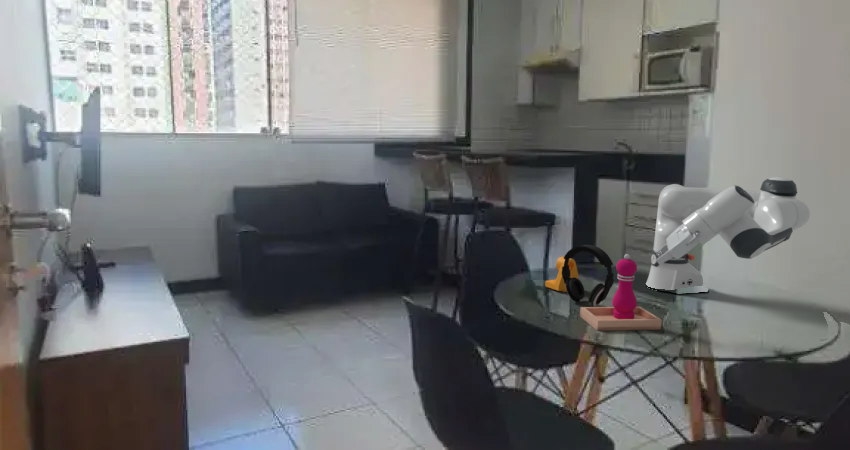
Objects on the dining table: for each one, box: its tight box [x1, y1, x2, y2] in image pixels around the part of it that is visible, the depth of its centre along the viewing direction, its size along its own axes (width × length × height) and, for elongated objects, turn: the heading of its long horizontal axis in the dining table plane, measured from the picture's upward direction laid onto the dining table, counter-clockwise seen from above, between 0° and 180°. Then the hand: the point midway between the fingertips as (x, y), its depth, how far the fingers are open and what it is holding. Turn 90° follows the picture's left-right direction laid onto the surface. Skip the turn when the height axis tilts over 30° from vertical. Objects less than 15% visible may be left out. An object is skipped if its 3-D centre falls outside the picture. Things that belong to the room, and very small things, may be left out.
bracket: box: [544, 256, 580, 293], centre depth 218 cm, size 11×7×12 cm, turn 123°
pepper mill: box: [611, 253, 638, 319], centre depth 183 cm, size 7×7×20 cm
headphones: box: [562, 244, 615, 307], centre depth 199 cm, size 18×8×20 cm, turn 45°
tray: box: [579, 306, 663, 331], centre depth 182 cm, size 20×13×3 cm, turn 98°
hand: (657, 259), depth 175 cm, fingers open, 8 cm apart
